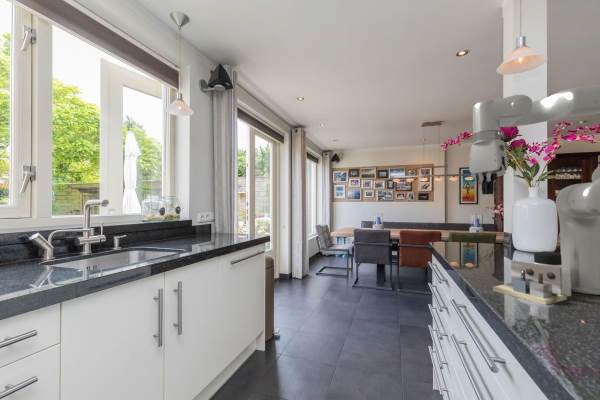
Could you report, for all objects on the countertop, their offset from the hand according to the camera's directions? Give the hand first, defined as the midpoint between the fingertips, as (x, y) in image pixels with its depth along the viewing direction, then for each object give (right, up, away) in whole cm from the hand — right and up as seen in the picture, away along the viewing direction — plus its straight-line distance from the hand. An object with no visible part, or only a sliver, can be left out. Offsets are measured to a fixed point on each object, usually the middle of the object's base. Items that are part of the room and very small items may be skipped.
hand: (487, 194), depth 92 cm
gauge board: (+2, -29, -13) cm, 32 cm away
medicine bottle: (+11, -29, -10) cm, 33 cm away
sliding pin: (+1, -27, -14) cm, 31 cm away
